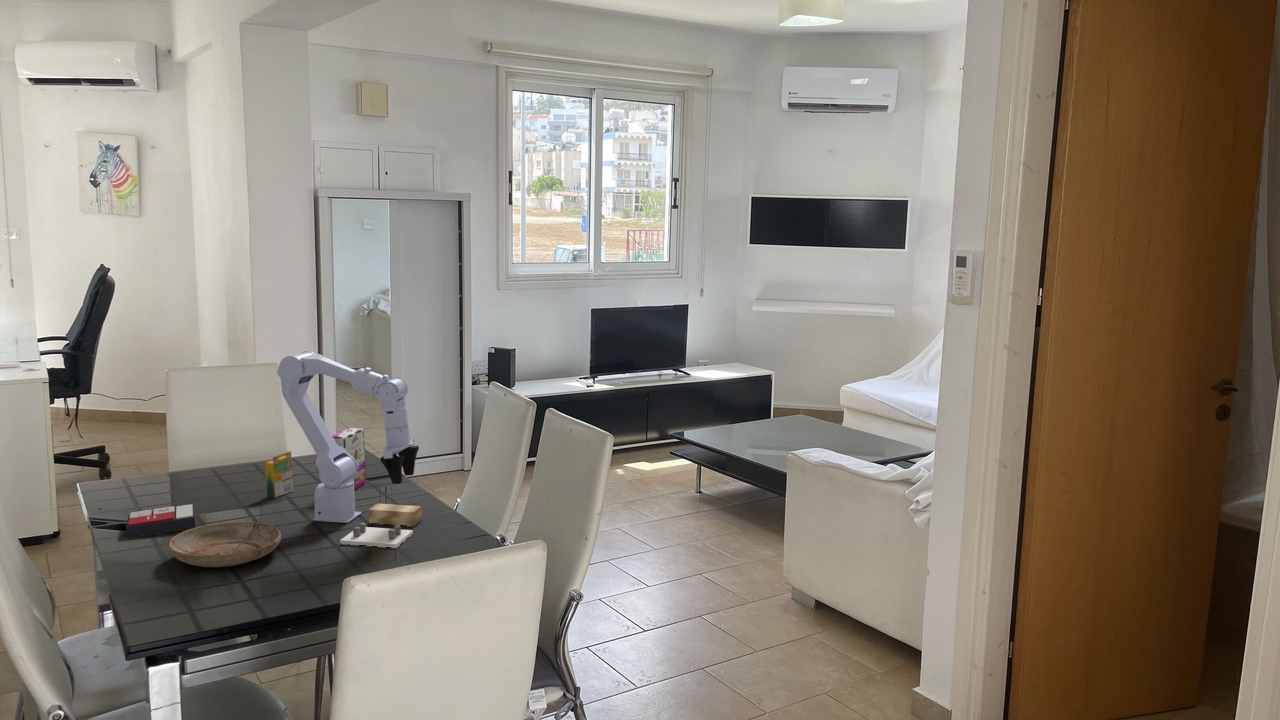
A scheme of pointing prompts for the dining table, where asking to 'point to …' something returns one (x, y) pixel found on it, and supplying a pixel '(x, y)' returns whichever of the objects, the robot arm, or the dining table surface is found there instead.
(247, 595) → the dining table surface
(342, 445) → the candy bar box
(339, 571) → the dining table surface
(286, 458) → the crayon box
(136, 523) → the black box with panels
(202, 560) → the ceramic bowl
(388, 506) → the tan rectangular block
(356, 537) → the peg stand
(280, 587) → the dining table surface
